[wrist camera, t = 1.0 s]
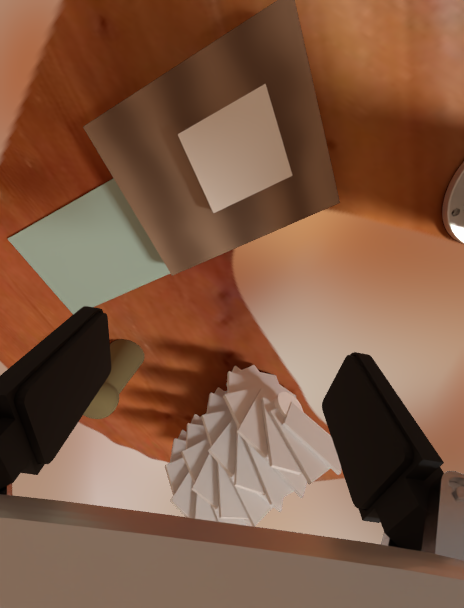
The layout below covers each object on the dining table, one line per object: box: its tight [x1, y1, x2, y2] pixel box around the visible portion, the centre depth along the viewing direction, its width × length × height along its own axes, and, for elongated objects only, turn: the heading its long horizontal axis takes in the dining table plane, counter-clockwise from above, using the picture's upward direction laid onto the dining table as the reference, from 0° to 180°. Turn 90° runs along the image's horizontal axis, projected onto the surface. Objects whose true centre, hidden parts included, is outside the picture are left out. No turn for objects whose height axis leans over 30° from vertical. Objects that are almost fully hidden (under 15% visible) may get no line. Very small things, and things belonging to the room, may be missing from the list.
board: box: [83, 0, 340, 275], centre depth 25 cm, size 20×16×4 cm
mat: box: [8, 178, 170, 315], centre depth 32 cm, size 18×12×1 cm
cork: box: [83, 339, 144, 419], centre depth 36 cm, size 6×6×11 cm
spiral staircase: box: [165, 365, 341, 527], centre depth 38 cm, size 18×18×25 cm
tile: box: [178, 84, 293, 213], centre depth 22 cm, size 8×7×2 cm
